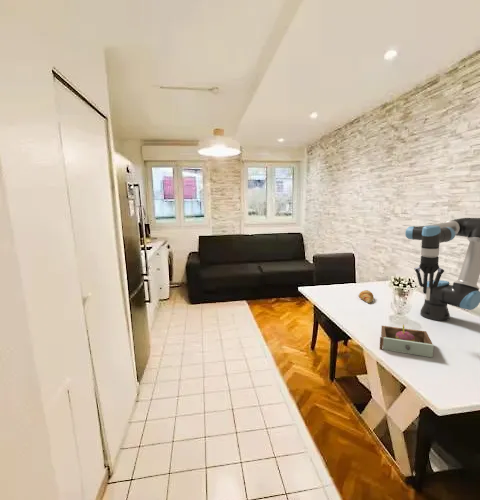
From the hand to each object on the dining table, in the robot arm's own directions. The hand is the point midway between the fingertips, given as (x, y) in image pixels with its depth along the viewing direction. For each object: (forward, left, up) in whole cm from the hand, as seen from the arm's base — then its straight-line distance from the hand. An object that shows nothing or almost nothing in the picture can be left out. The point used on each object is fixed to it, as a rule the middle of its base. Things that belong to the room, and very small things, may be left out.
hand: (427, 299), depth 141 cm
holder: (+12, +14, -21) cm, 28 cm away
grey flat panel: (+11, +22, -21) cm, 33 cm away
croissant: (+28, -54, -22) cm, 64 cm away
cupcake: (+11, +14, -21) cm, 28 cm away
